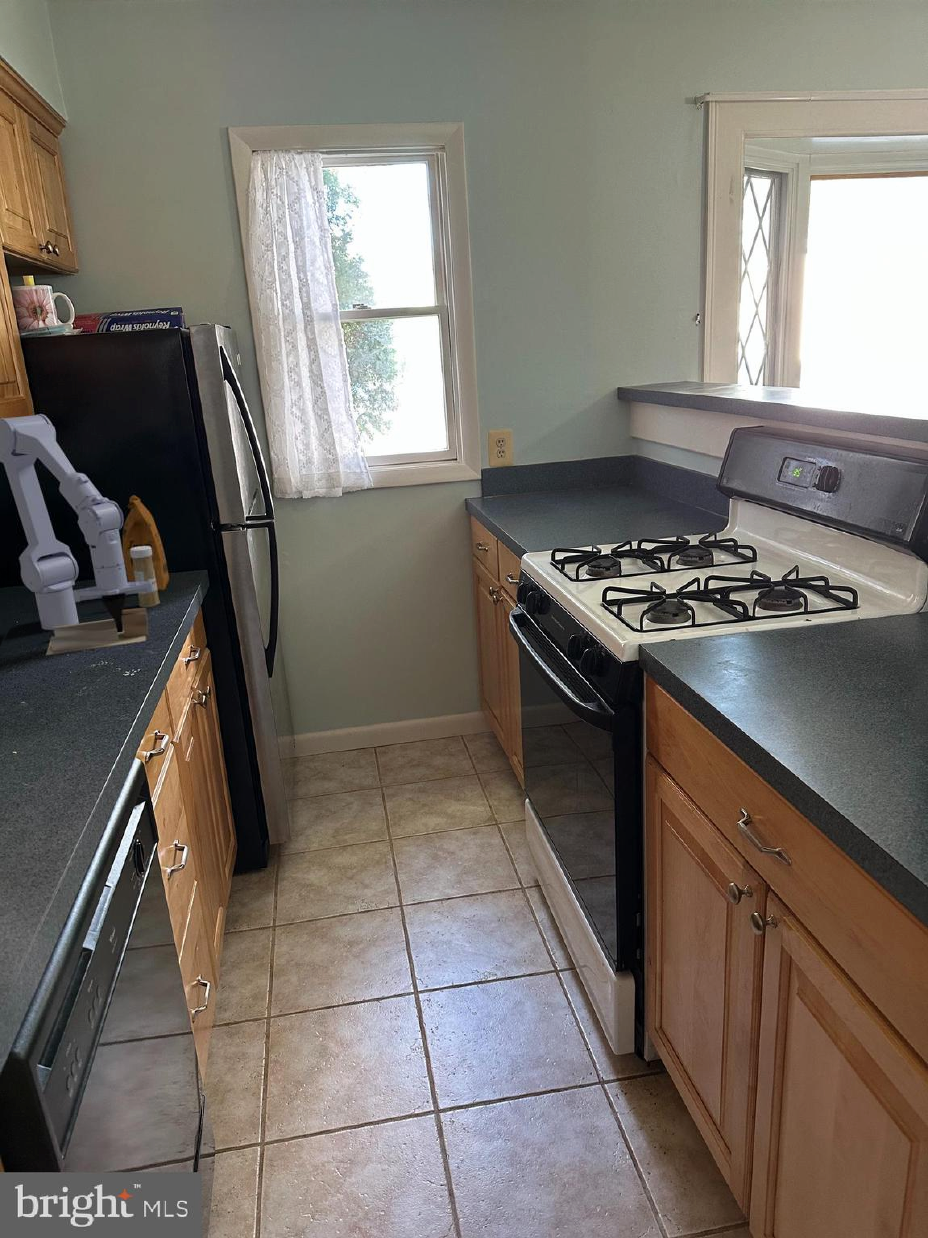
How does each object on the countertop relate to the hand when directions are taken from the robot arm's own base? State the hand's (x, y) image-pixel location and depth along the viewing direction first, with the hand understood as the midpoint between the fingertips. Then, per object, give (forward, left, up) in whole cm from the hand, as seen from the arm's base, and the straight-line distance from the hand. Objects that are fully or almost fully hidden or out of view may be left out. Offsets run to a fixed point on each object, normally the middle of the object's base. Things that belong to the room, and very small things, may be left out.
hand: (120, 630), depth 177 cm
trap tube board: (0, -4, -2) cm, 5 cm away
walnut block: (0, +3, -1) cm, 3 cm away
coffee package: (-43, +6, -2) cm, 44 cm away
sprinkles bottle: (-25, +6, -2) cm, 26 cm away
